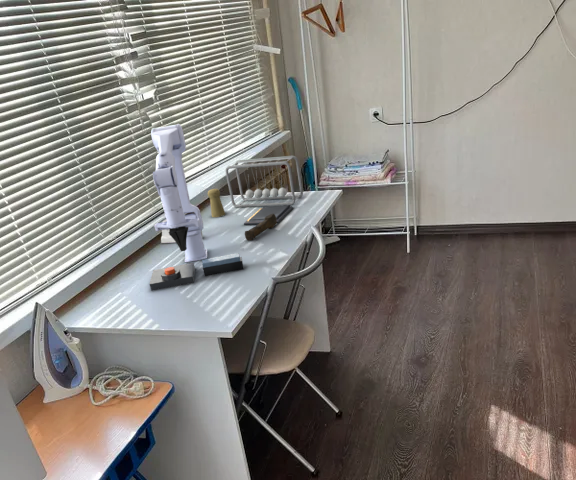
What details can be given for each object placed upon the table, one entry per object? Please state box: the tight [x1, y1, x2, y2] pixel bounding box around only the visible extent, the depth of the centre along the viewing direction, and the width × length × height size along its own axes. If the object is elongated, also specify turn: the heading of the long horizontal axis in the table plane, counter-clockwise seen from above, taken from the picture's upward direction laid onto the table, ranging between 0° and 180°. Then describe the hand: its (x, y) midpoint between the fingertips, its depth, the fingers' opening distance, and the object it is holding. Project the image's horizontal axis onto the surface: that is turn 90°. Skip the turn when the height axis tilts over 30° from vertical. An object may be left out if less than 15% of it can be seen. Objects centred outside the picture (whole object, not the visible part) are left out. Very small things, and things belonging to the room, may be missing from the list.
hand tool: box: [244, 214, 278, 242], centre depth 229 cm, size 19×4×5 cm, turn 146°
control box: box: [149, 262, 196, 292], centre depth 201 cm, size 13×14×4 cm
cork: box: [207, 188, 226, 218], centre depth 257 cm, size 6×6×11 cm
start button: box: [165, 266, 175, 275], centre depth 196 cm, size 3×3×2 cm
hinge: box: [160, 219, 204, 244], centre depth 237 cm, size 17×5×10 cm, turn 73°
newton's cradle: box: [225, 155, 304, 208], centre depth 260 cm, size 30×10×18 cm, turn 69°
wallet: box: [243, 205, 294, 226], centre depth 246 cm, size 20×2×15 cm
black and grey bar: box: [201, 252, 245, 277], centre depth 200 cm, size 4×13×4 cm, turn 96°
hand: (183, 250), depth 194 cm, fingers closed
